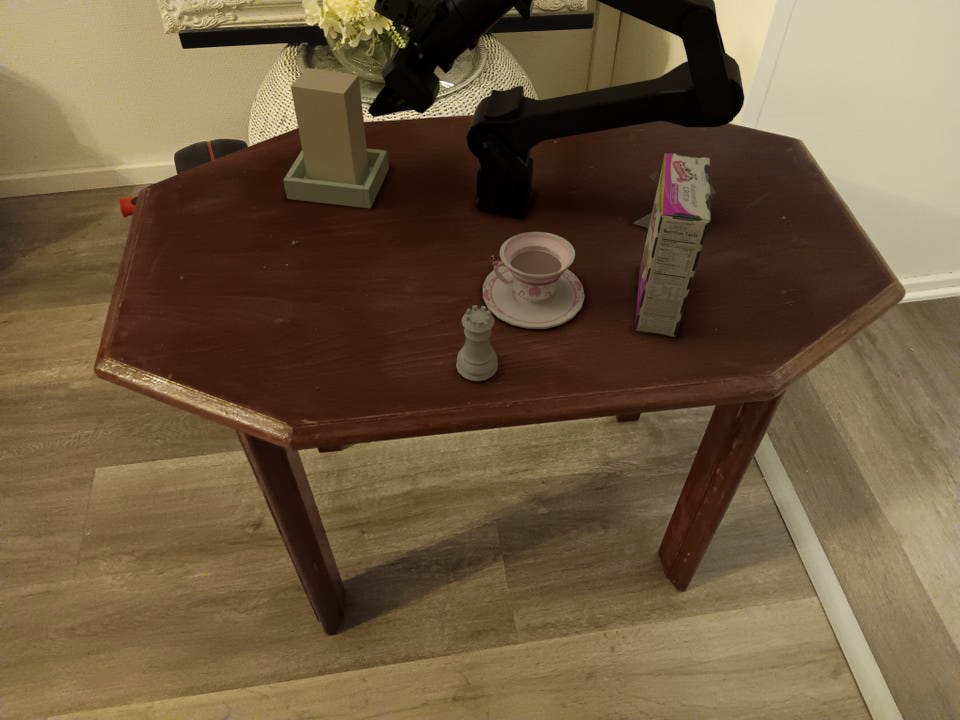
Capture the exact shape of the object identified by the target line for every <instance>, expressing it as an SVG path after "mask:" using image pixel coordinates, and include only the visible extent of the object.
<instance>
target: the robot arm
mask: <svg viewBox="0 0 960 720" xmlns="http://www.w3.org/2000/svg"><path fill="white" fill-rule="evenodd" d="M534 1H535V0H375V2H374V6H373V9H374V11H375V12H376V13H377V14H379V15H380V16H382V17H384V18H386V19H388V20H389V21H391V22H393V23H394V24H396V25H398V26H403V27H405V28H408V32H407V34H406V36H407V37H408V41H407V43H405V46H404V47H399V48H398V49H397V50H396V51H395V52H394V53H392V55H391V56H390V58H388V60H387V61H386V62H385V64H384V66H383V68H382V70H381V72H380V73H381V77H382V79H383V80H384V84H383V86H382V88H381V89H380V91H379V92H378V93H377V95H376V97H375V98H374V100H373V101H372V102H371V104H370V106H369V107H368V109H367V112H368V114H370V115H371V117H373V118H377V117H383V116H386V115H387V116H388V115H391V114H396V113H403V112H409V111H414V112H416V113H418V114H422V115H423V114H424V113H426V111H428V110H429V109H430V108H431V107H432V106H433V105H434V104H435V102H436V100H437V97H438V95H439V94H440V93H439V92H440V90H441V83H440V82H441V80H440V78H439V76H438V75H437V74H436V73H435V71H436V69H437V67H438V68H440V70H441V71H442V72H443V73H444V74H447V73H449V72H450V71H451V70H452V69H453V66H454V64H455V62H456V60H458V58H459V57H460V56H462V55H463V54H464V53H465V52H466V51H467V50H469V51H470V52H472V51H473V50H474V49H475V48H476V47H478V44H479V42H480V39H481V37H483V35H485V34H486V33H487V32H488V31H490V29H491V28H492V27H493V26H495V24H497V23H498V22H499V21H500V20H501V19H502V18H503V17H504V16H506V14H508V13H509V12H510V11H511V10H512V9H513V8H514V9H515V10H516V11H517V13H518V14H519V15H520V16H521V17H522V19H523V20H524V21H530V19H531V17H532V13H533V10H534V7H535V4H534V3H535V2H534ZM595 2H597V3H598V2H599V3H601V4H603V5H605V6H608V7H609V8H612V9H615V10H617V11H620V12H622V13H623V14H626V15H628V16H631V17H633V18H635V19H637V20H640V21H642V22H643V23H644V22H645V23H647V24H649V25H652V26H654V27H656V28H658V29H661V30H663V31H665V32H667V33H670V34H672V35H673V36H677V37H678V38H680V39H681V41H682V44H683V48H684V53H685V55H686V56H685V57H686V59H687V60H686V61H683V62H682V63H680V64H679V65H677V66H675V67H674V68H672V69H670V70H669V71H667V72H666V73H664V74H662V75H661V76H659V77H656V78H651V79H646V80H641V81H640V80H639V81H635V82H631V83H625V84H620V85H614V86H608V87H604V88H603V87H602V88H598V89H594V90H588V91H582V92H576V93H572V94H567V95H560V96H556V97H555V96H554V97H550V98H544V99H537V98H536V99H535V98H532V97H528V96H525V89H524V86H523V85H517V86H514V87H512V88H509V89H506V90H498V89H492V90H491V93H490V95H488V96H486V97H484V98H482V99H481V100H480V101H479V103H478V104H477V106H476V108H475V110H474V113H473V115H472V118H471V122H470V124H469V129H468V131H467V135H466V143H467V147H468V149H469V151H470V153H471V154H472V155H474V156H475V158H477V160H478V162H479V165H480V166H479V167H478V169H477V171H476V198H477V199H478V202H477V204H476V210H477V211H479V212H485V213H491V214H494V215H495V214H496V215H501V216H504V217H505V216H506V217H511V218H516V219H524V217H525V215H526V213H527V210H528V208H529V206H530V203H531V201H532V199H533V196H534V195H535V189H534V188H533V187H532V186H533V173H534V162H535V160H534V158H532V157H531V153H532V148H534V147H535V146H537V145H538V144H540V143H543V142H545V141H550V140H555V139H562V138H567V137H574V136H579V135H584V134H592V133H597V132H602V131H603V132H605V131H609V130H616V129H621V128H627V127H632V126H639V125H644V124H650V123H656V122H665V123H669V124H674V125H677V126H681V127H683V128H684V127H685V128H719V127H723V126H726V125H728V124H730V123H732V122H733V120H734V119H735V118H736V117H737V116H738V115H739V114H740V113H741V111H742V109H743V107H744V103H745V92H744V87H743V80H742V74H741V69H740V65H739V64H738V62H737V60H736V59H735V58H734V57H732V56H731V55H729V54H728V53H727V52H726V49H725V45H724V42H723V37H722V33H721V30H720V26H719V23H718V15H717V9H716V3H715V2H716V1H714V0H595Z"/></svg>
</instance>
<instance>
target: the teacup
mask: <svg viewBox="0 0 960 720" xmlns="http://www.w3.org/2000/svg"><path fill="white" fill-rule="evenodd" d="M575 257H576V251H575V248H574V246H573V244H572V243H570V241H568V240H567V239H566V238H564V237H562V236H559V235H557V234H554V233H550V232H546V231H545V232H544V231H527V232H521V233H519V234H516V235H513V236H511V237H510V238H508V239H506V240H505V241H504V242H503V243H502V245H501V246H500V248H499V258H500V260H495V261H493V262H492V266H493V270H492V271H491V272H490V273H488V275H486V278H485V280H484V282H483V284H482V299H483V302H484V303H485V305H486V308H487V309H488V310H490V312H491V314H492V315H494V316H495V317H496V318H497V319H499V320H501V321H503V322H504V323H507V324H508V325H510V326H514V327H518V328H523V329H527V330H546V329H551V328H555V327H558V326H562V325H564V324H565V323H567V322H569V321H571V320H573V319H574V318H575V317H576V316H577V315H578V313H579V312H580V311H581V310H582V307H583V304H584V301H585V297H586V296H585V291H584V285H583V283H582V282H581V280H580V279H579V278H578V276H577V275H576V274H575V273H574V272H572V271H571V270H570V269H569V268H570V266H571V265H573V262H574V261H575Z"/></svg>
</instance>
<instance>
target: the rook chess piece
mask: <svg viewBox="0 0 960 720" xmlns="http://www.w3.org/2000/svg"><path fill="white" fill-rule="evenodd" d="M461 324H462V327H464V329H463V334H464V336H465V342H464V345H463V346H462V347H461V348H460V350H459V351H458V353H457V356H456V365H455V367H456V369H457V372H458V373H459V374H460V375H461V376H462V377H463V378H465V379H466V380H469V381H471V382H482V381H487V380H488V379H489V378H491V377H494V375H495V374H496V372H497V371H498V368H499V363H498V356H497V353H496V351H495V349H494V348H493V346H492V344H491V339H490V337H491V336H492V332H493V331H492V328H493V326H494V325H495V318H494V316H493V314H492V312H491V311H490V310H489V309H488V310H487V306H485V305H481V307H480V308H478V305H477V304H476V305H475V304H474V305H472V308H469V307H468V308H467V309H466V311H465V313H464V314H463V316H462V317H461Z"/></svg>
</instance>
